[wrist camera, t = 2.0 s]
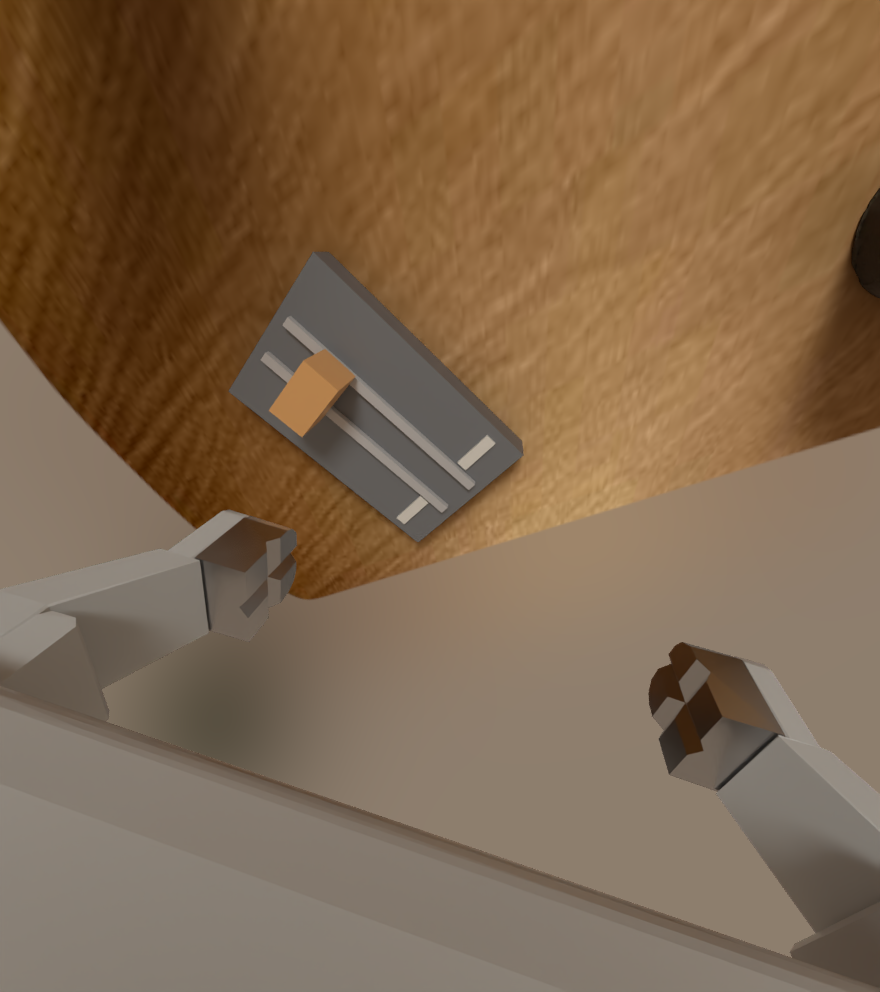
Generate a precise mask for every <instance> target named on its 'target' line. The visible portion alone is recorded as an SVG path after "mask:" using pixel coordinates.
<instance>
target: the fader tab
mask: <svg viewBox="0 0 880 992" xmlns="http://www.w3.org/2000/svg"><path fill="white" fill-rule="evenodd" d="M355 377H356V376H355V375H354V374H353V373H352V372H351V371H349V370H348V369H347V368H346V367H345V366H344V365H343V364H342V363H341V362H339V361H338V360H337V359H336V358H335V357H334V356H333V355H332V354H330V353H329V352H328V351H327V350H326V349H324V350H322V351H320V352H318V353H316V354H314V355H313V356H311V357H309V358H307V359H305V360H303V362H302V363H301V365H300V366H299V367H298V369H297V370H296V372H295V373H294V375H293V376H292V377H291V379H290V380H289V382H288V383H287V385H286V386H285V388H284V389H283V390H282V392H281V393H280V395H279V396H278V398H277V399H276V401H275V402H274V403H273V405H272V406H271V408H270V409H269V411H270V412H271V413H272V414H273V415H275V416H276V417H277V418H278V419H280V420H281V421H282V422H283V423H285V424H286V425H287V426H288V427H290V428H291V429H292V430H293V431H295V432H296V433H297V434H298V435H299V436H301V437H303V436H304V435H305V434H306V433H307V432H309V431H310V430H311V429H312V428H313V427H314V426H315V425H316V424H317V423H318V422H319V421H320V420H321V419H322V418H323V417H324V416H325V415H326V413H327V412H328V411H329V410H330V408H331V407H332V406H333V405H334V403H335V402H336V401H337V399H338V398H339V397H340V396H341V394H342V393H343V392H344V391H345V389H346V388H347V387H348V386H349V384H350V383H351V382H352V381H353V379H354V378H355Z"/></svg>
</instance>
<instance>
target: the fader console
mask: <svg viewBox="0 0 880 992" xmlns="http://www.w3.org/2000/svg"><path fill="white" fill-rule="evenodd" d="M324 349H326V350H327V351H328V352H329V353H330V354H332V355H333V356H334V357H335V358H336V359H337V360H338V361H339V362H341V363H342V364H343V365H344V366H345V367H346V368H347V369H348V370H349V371H351V372H352V373H353V374H354V375H355V376H356V377H355V378H354V379H353V381H352V382H351V383H350V384H349V386H348V387H347V388H346V389H345V391H344V392H343V393H342V394H341V396H340V397H339V398H338V399H337V401H336V402H335V403H334V405H333V406H332V407H331V408H330V410H329V411H328V412H327V413H326V415H325V416H324V417H323V418H322V419H321V420H320V421H319V422H318V423H317V424H316V425H315V426H314V427H313V428H312V429H311V430H310V431H309V432H307V433H306V434H305V435H304V436H303V437H301V436H299V435H298V434H297V433H296V432H295V431H293V430H292V429H291V428H290V427H288V426H287V425H286V424H285V423H283V422H282V421H281V420H280V419H278V418H277V417H276V416H275V415H273V414H272V413H271V412H270V411H269V409H270V408H271V406H272V405H273V403H274V402H275V401H276V399H277V398H278V396H279V395H280V393H281V392H282V390H283V389H284V388H285V386H286V385H287V383H288V382H289V380H290V379H291V377H292V376H293V375H294V373H295V372H296V370H297V369H298V367H299V366H300V365H301V363H302V362H303V360H305V359H307V358H309V357H311V356H313V355H314V354H316V353H318V352H320V351H322V350H324ZM229 392H230V393H231V394H232V395H234V396H235V397H236V398H237V399H239V400H240V401H241V402H242V403H244V404H245V405H246V406H247V407H249V408H250V409H251V410H252V411H254V412H255V413H256V414H257V415H259V416H260V417H261V418H263V419H264V420H265V421H266V422H268V423H269V424H270V425H271V426H273V427H274V428H275V429H276V430H278V431H279V432H280V433H281V434H283V435H284V436H285V437H286V438H288V439H289V440H290V441H291V442H293V443H294V444H295V445H296V446H298V447H299V448H300V449H301V450H303V451H304V452H305V453H306V454H308V455H309V456H310V457H311V458H313V459H314V460H315V461H316V462H318V463H319V464H320V465H321V466H323V467H324V468H325V469H326V470H328V471H329V472H330V473H331V474H333V475H334V476H335V477H336V478H338V479H339V480H340V481H341V482H343V483H344V484H345V485H346V486H348V487H349V488H350V489H351V490H353V491H354V492H355V493H356V494H358V495H359V496H360V497H361V498H363V499H364V500H365V501H367V502H368V503H369V504H370V505H372V506H373V507H374V508H375V509H377V510H378V511H379V512H380V513H382V514H383V515H384V516H385V517H387V518H388V519H389V520H390V521H392V522H393V523H394V524H395V525H397V526H398V527H399V528H400V529H402V530H403V531H404V532H405V533H407V534H408V535H409V536H410V537H412V538H413V539H414V540H415V541H417V542H419V541H420V540H422V539H423V538H424V537H425V536H427V535H428V534H429V533H430V532H431V531H433V530H434V529H435V528H436V527H437V526H439V525H440V524H441V523H442V522H443V521H445V520H446V519H447V518H448V517H449V516H451V515H452V514H453V513H454V512H455V511H457V510H458V509H459V508H460V507H462V506H463V505H464V504H465V503H466V502H468V501H469V500H470V499H471V498H472V497H474V496H475V495H476V494H477V493H478V492H480V491H481V490H482V489H483V488H484V487H486V486H487V485H488V484H489V483H490V482H492V481H493V480H494V479H495V478H497V477H498V476H499V475H500V474H501V473H503V472H504V471H505V470H506V469H507V468H509V467H510V466H511V465H512V464H513V463H515V462H516V461H517V460H518V459H519V458H521V457H522V456H523V446H522V441H521V440H520V439H519V438H518V437H517V436H516V435H515V434H514V433H513V432H512V431H511V430H510V429H509V428H508V427H507V426H506V425H505V424H504V423H503V422H502V421H501V420H500V419H499V418H498V417H497V416H496V415H495V414H494V413H493V412H492V411H491V410H490V409H489V408H488V407H487V406H486V405H485V404H484V403H483V402H482V401H481V400H479V399H478V398H477V397H476V396H475V395H474V394H473V393H472V392H471V391H470V390H469V389H468V388H467V387H466V386H465V385H464V384H463V383H462V382H461V381H460V380H459V379H458V378H457V377H456V376H455V375H454V374H453V373H452V372H451V371H450V370H449V369H448V368H447V367H446V366H445V365H444V364H443V363H442V362H441V361H440V360H439V359H438V358H437V357H436V356H435V355H433V354H432V353H431V352H430V351H429V350H428V349H427V348H426V347H425V346H424V345H423V344H422V343H421V342H420V341H419V340H418V339H417V338H416V337H415V336H414V335H413V334H412V333H411V332H410V331H409V330H408V329H407V328H406V327H405V326H404V325H403V324H402V323H401V322H400V321H399V320H398V319H397V318H396V317H395V316H394V315H393V314H392V313H391V312H390V311H389V310H388V309H386V308H385V307H384V306H383V305H382V304H381V303H380V302H379V301H378V300H377V299H376V298H375V297H374V296H373V295H372V294H371V293H370V292H369V291H368V290H367V289H366V288H365V287H364V286H363V285H362V284H361V283H360V282H359V281H358V280H357V279H356V278H355V277H354V276H353V275H352V274H351V273H350V272H349V271H348V270H347V269H346V268H345V267H344V266H343V265H342V264H340V263H339V262H338V261H337V260H336V259H335V258H334V257H333V256H332V255H331V254H330V253H329V252H313V253H312V255H311V256H310V258H309V259H308V261H307V263H306V264H305V266H304V268H303V269H302V271H301V273H300V274H299V276H298V278H297V279H296V281H295V283H294V284H293V286H292V288H291V289H290V291H289V292H288V294H287V296H286V297H285V299H284V301H283V302H282V304H281V306H280V307H279V309H278V311H277V312H276V314H275V316H274V317H273V319H272V320H271V322H270V324H269V325H268V327H267V329H266V330H265V332H264V334H263V335H262V337H261V339H260V340H259V342H258V344H257V345H256V347H255V348H254V350H253V352H252V353H251V355H250V357H249V358H248V360H247V362H246V363H245V365H244V367H243V368H242V370H241V372H240V373H239V375H238V377H237V378H236V380H235V381H234V383H233V385H232V386H231V388H230V390H229Z"/></svg>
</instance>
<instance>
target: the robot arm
mask: <svg viewBox="0 0 880 992" xmlns="http://www.w3.org/2000/svg"><path fill="white" fill-rule="evenodd" d="M296 546H297V541H296V532H295V531H294V530H293V529H291V528H287V527H284V526H281V525H278V524H275V523H272V522H268V521H265V520H262V519H259V518H256V517H252V516H248V515H245V514H242V513H238V512H235V511H232V510H225V511H222V512H220V513H219V514H217V515H216V516H215V517H213V518H212V519H211V520H209V521H208V522H206V523H205V524H204V525H202V526H201V527H199V528H198V529H197V530H195V531H194V532H193V533H191V534H190V535H188V536H187V537H186V538H184V539H183V540H181V541H180V542H179V543H177V544H176V545H174V546H173V547H172V548H170V549H169V550H168V551H167V550H164V549H156V550H152V551H149V552H145V553H141V554H137V555H133V556H129V557H125V558H121V559H117V560H113V561H109V562H105V563H101V564H97V565H93V566H89V567H86V568H82V569H78V570H74V571H70V572H66V573H62V574H58V575H54V576H50V577H46V578H42V579H38V580H34V581H30V582H26V583H22V584H18V585H15V586H11V587H7V588H3V589H0V992H880V794H879V793H878V792H876V791H875V790H874V789H873V788H872V787H870V785H868V784H867V783H866V782H865V781H864V780H863V779H862V778H860V777H859V776H858V775H857V774H856V773H855V772H854V771H852V770H851V769H850V768H849V767H848V766H847V765H846V764H844V763H843V762H842V761H841V760H840V759H839V758H837V757H836V756H835V755H834V754H833V753H832V752H831V751H829V750H826V749H823V748H820V746H819V745H818V743H817V742H816V740H815V739H814V737H813V736H812V734H811V732H810V731H809V729H808V728H807V726H806V724H805V723H804V721H803V720H802V718H801V716H800V715H799V713H798V712H797V710H796V709H795V707H794V705H793V704H792V703H791V701H790V699H789V697H788V696H787V694H786V693H785V691H784V690H783V688H782V686H781V685H780V683H779V682H778V680H777V678H776V677H775V675H774V674H773V672H772V671H771V670H770V669H769V668H768V667H766V666H765V665H764V664H762V663H758V662H754V661H750V660H747V659H743V658H739V657H733V656H730V655H726V654H723V653H719V652H715V651H712V650H709V649H705V648H701V647H698V646H694V645H691V644H687V643H684V642H681V643H679V644H677V645H676V646H675V647H674V648H673V649H672V651H671V652H670V653H669V657H670V661H671V664H669V665H667V666H664V667H662V668H659V669H658V670H657V672H656V673H655V675H654V677H653V678H652V680H651V684H650V689H649V705H650V709H651V713H652V717H653V718H654V719H655V720H656V721H657V723H658V724H659V725H660V726H661V727H662V729H663V732H662V734H661V736H660V738H659V741H660V745H661V748H662V752H663V755H664V759H665V762H666V765H667V769H668V773H669V775H671V776H674V777H677V778H680V779H683V780H686V781H689V782H691V783H694V784H697V785H700V786H703V787H706V788H709V789H711V790H714V791H717V793H716V794H717V796H718V797H719V798H720V800H721V801H722V803H723V804H724V805H725V807H726V808H727V810H728V811H729V812H730V814H731V815H732V817H733V818H734V819H735V821H736V822H737V823H738V825H739V826H740V828H741V829H742V831H743V832H744V833H745V835H746V836H747V837H748V839H749V841H750V842H751V843H752V845H753V846H754V848H755V849H756V850H757V852H758V853H759V855H760V856H761V857H762V859H763V860H764V861H765V863H766V864H767V866H768V867H769V869H770V870H771V871H772V873H773V874H774V876H775V877H776V878H777V879H778V881H779V883H780V884H781V885H782V887H783V888H784V890H785V891H786V892H787V894H788V895H789V897H790V898H791V899H792V901H793V902H794V904H795V905H796V906H797V908H798V909H799V911H800V912H801V913H802V915H803V916H804V917H805V919H806V920H807V922H808V923H809V925H810V926H811V927H812V929H813V930H814V932H815V933H816V934H814V935H812V936H810V937H808V938H806V939H804V940H801V941H799V942H798V943H795V944H794V946H793V948H792V949H791V951H790V953H791V956H792V958H791V957H788V956H785V955H782V954H779V953H776V952H774V951H771V950H767V949H765V948H762V947H759V946H756V945H753V944H750V943H747V942H745V941H742V940H739V939H736V938H733V937H730V936H727V935H724V934H721V933H718V932H716V931H713V930H710V929H706V928H704V927H701V926H698V925H695V924H692V923H689V922H687V921H684V920H681V919H678V918H675V917H672V916H669V915H666V914H663V913H660V912H658V911H655V910H652V909H649V908H646V907H643V906H640V905H637V904H634V903H631V902H629V901H625V900H623V899H620V898H617V897H614V896H611V895H608V894H605V893H603V892H599V891H597V890H594V889H591V888H588V887H585V886H582V885H579V884H576V883H574V882H571V881H568V880H565V879H562V878H559V877H556V876H553V875H550V874H547V873H545V872H542V871H539V870H536V869H533V868H530V867H527V866H524V865H521V864H518V863H515V862H513V861H509V860H507V859H504V858H501V857H498V856H495V855H492V854H489V853H487V852H483V851H481V850H478V849H475V848H472V847H469V846H466V845H463V844H460V843H457V842H455V841H452V840H449V839H446V838H443V837H440V836H437V835H434V834H431V833H428V832H425V831H423V830H420V829H417V828H413V827H411V826H408V825H405V824H402V823H399V822H396V821H393V820H390V819H388V818H385V817H382V816H379V815H376V814H373V813H370V812H367V811H364V810H361V809H359V808H356V807H353V806H350V805H347V804H344V803H341V802H338V801H335V800H332V799H329V798H327V797H323V796H321V795H318V794H315V793H312V792H309V791H306V790H303V789H300V788H297V787H294V786H292V785H289V784H286V783H283V782H280V781H277V780H274V779H271V778H268V777H266V776H262V775H260V774H257V773H254V772H251V771H248V770H245V769H242V768H239V767H236V766H233V765H231V764H228V763H225V762H222V761H219V760H216V759H213V758H210V757H207V756H204V755H201V754H199V753H196V752H193V751H190V750H187V749H184V748H181V747H178V746H175V745H172V744H170V743H167V742H163V741H161V740H158V739H155V738H152V737H149V736H146V735H143V734H140V733H138V732H134V731H132V730H129V729H126V728H123V727H120V726H117V725H114V724H111V723H108V722H106V721H107V720H108V718H109V709H108V706H107V703H106V700H105V697H104V695H103V692H102V689H103V688H105V687H107V686H108V685H111V684H112V683H114V682H116V681H118V680H120V679H122V678H124V677H126V676H128V675H130V674H131V673H134V672H135V671H137V670H139V669H141V668H143V667H145V666H147V665H149V664H151V663H153V662H155V661H156V660H158V659H160V658H162V657H164V656H166V655H168V654H170V653H172V652H174V651H176V650H178V649H179V648H181V647H183V646H185V645H187V644H189V643H191V642H193V641H195V640H197V639H199V638H200V637H202V636H204V635H206V634H208V633H209V631H213V632H216V633H220V634H223V635H226V636H230V637H233V638H237V639H241V640H244V641H248V642H250V640H251V639H252V638H253V637H254V635H255V634H256V633H257V632H258V630H259V629H260V628H261V627H262V625H263V624H264V623H265V621H266V620H267V619H268V608H269V607H272V606H274V605H276V604H279V603H280V602H281V601H282V600H283V599H284V597H285V596H286V594H287V593H288V591H289V589H290V587H291V585H292V583H293V581H294V577H295V572H296V561H295V559H294V557H293V556H292V554H291V553H290V552H291V551H292V550H293V549H294V548H295V547H296Z"/></svg>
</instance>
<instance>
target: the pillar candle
mask: <svg viewBox="0 0 880 992" xmlns="http://www.w3.org/2000/svg"><path fill="white" fill-rule="evenodd" d="M852 260H853V261H852V264H853V268H854V269H855V271H856V274H857V276H858V277H859V279H860V283H861V285H862V287H864V288H865V289H866V290H867V291H868V292H870V293H871V294H873V295H874V296H876V297H878V298H880V189H879V190H878V192H877V193H876V195H875V196H874V197H873V199H872V200H871V201H870V203H869V207H868V208H867V209H866V211H865V213H864V215H863V217H862V219H861V221H860V224H859V227H858V229H857V232H856V238H855V244H854V247H853V252H852Z"/></svg>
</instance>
